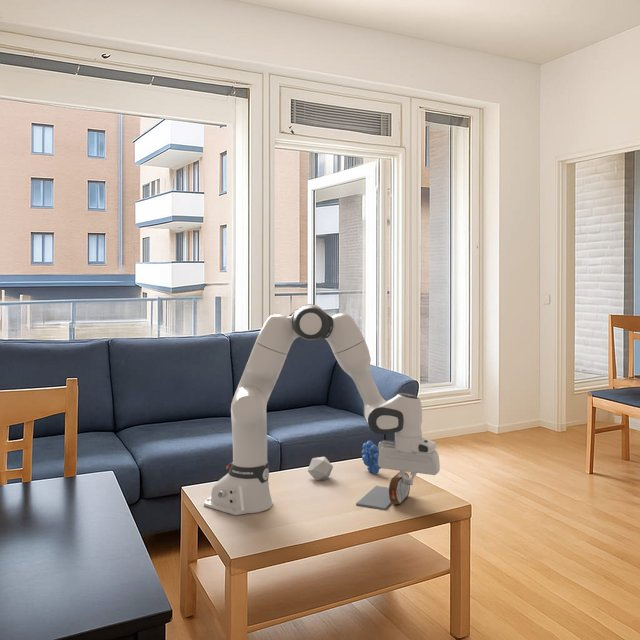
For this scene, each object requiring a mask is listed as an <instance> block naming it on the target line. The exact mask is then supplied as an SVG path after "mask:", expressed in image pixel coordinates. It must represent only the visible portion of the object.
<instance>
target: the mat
mask: <svg viewBox="0 0 640 640" xmlns="http://www.w3.org/2000/svg"><path fill="white" fill-rule="evenodd" d="M390 505H393V504H392V503H391V502H390V498H389V487H388V486H379V485H375V486H373V488H371V490H370V491H368V492H367V493H366V494H365V495H364V496H363V497H362V498H360V499H358V501H357V502H356V503H355V506H358V507H363V508H364V507H366V508H370V509H371V508H372V509H378V510H383V511H384V510H387V509H388V508H389V507H390Z"/></svg>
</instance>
